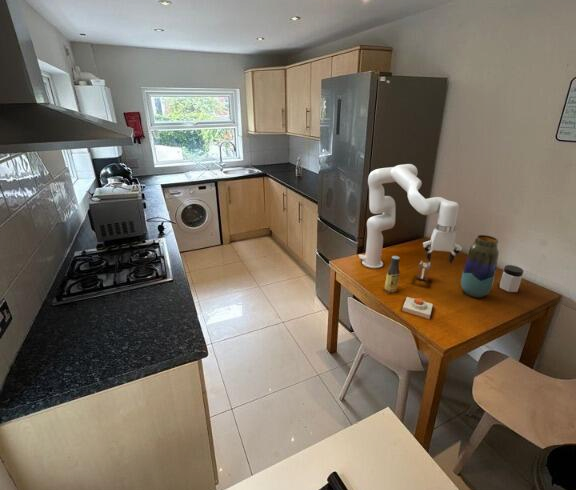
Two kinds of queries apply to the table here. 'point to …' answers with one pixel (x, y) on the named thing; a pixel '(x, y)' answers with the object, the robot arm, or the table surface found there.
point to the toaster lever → (423, 272)
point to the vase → (480, 266)
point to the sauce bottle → (392, 275)
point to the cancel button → (418, 301)
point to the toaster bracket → (421, 269)
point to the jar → (511, 278)
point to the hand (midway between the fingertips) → (439, 260)
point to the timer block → (417, 308)
